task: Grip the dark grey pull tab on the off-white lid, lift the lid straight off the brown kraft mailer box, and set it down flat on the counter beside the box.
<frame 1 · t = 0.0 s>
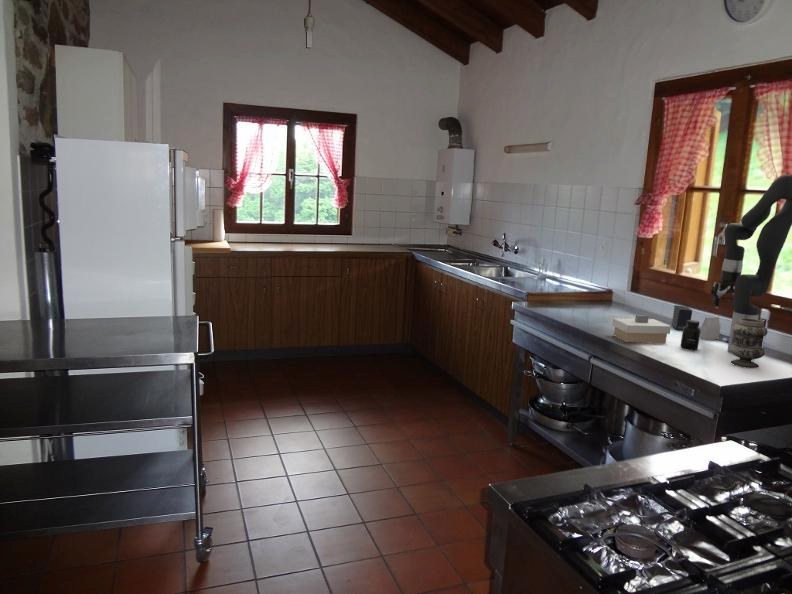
hand: (725, 306, 272), 17 cm above the worktop, tool pointing down, fingers open, 8 cm apart
supplement bottle: (688, 349, 266), on the worktop
printed product carton: (709, 339, 286), on the worktop
mailer lid: (640, 329, 277), point 4 cm above the worktop, touching mailer box
small box: (680, 328, 305), on the worktop
mailer box: (639, 339, 277), on the worktop
apothecary jar: (744, 365, 245), on the worktop
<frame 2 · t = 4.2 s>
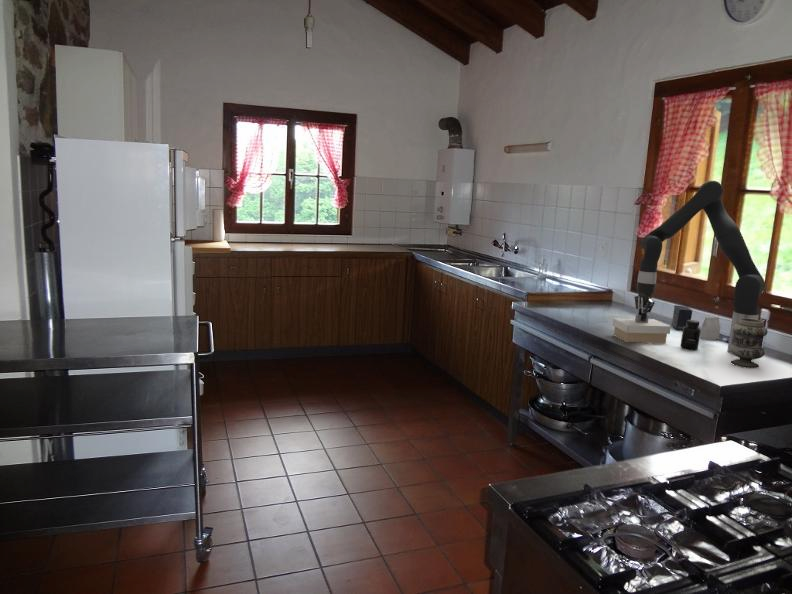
hand: (641, 320, 276), 9 cm above the worktop, tool pointing down, fingers closed on mailer lid
mailer lid: (640, 329, 277), point 5 cm above the worktop, touching gripper, mailer box
everything else where it was.
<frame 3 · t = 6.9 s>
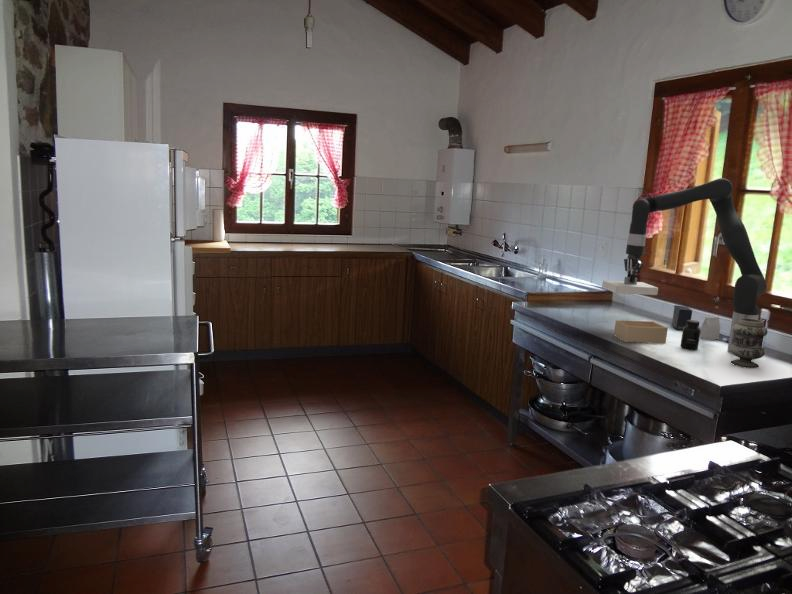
hand: (630, 282, 283), 24 cm above the worktop, tool pointing down, fingers closed on mailer lid
mailer lid: (629, 291, 284), point 20 cm above the worktop, touching gripper
everything else where it was.
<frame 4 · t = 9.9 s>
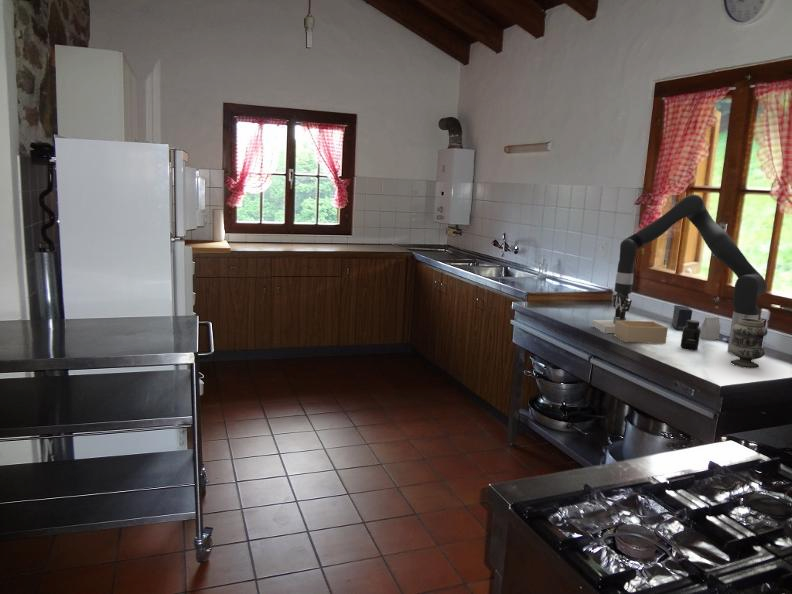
hand: (619, 318, 292), 6 cm above the worktop, tool pointing down, fingers open, 4 cm apart
mailer lid: (618, 330, 293), on the worktop
everything else where it was.
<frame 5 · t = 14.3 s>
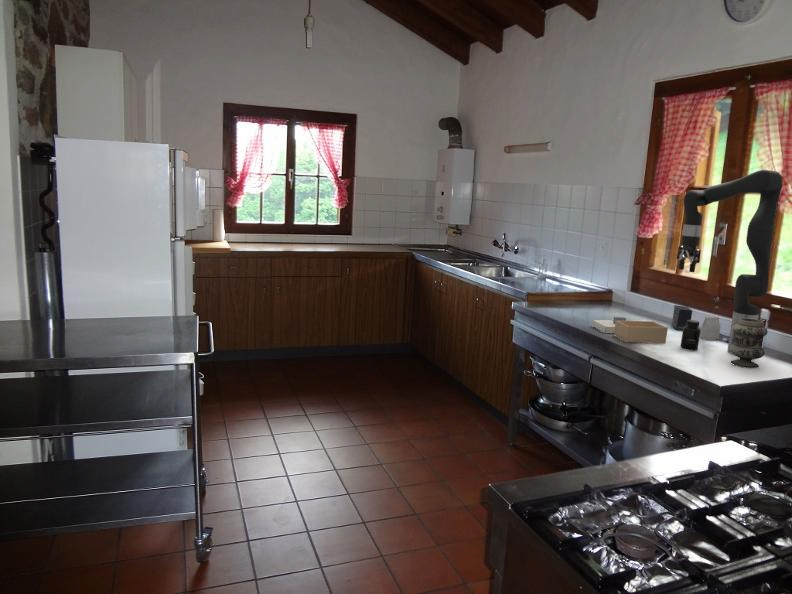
hand: (686, 270, 285), 30 cm above the worktop, tool pointing down, fingers open, 8 cm apart
nothing on the worktop moved.
at the end: mailer lid inside the target area (0.1 cm from its centre), on the worktop; mailer lid touching worktop; mailer lid tilted 0° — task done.
